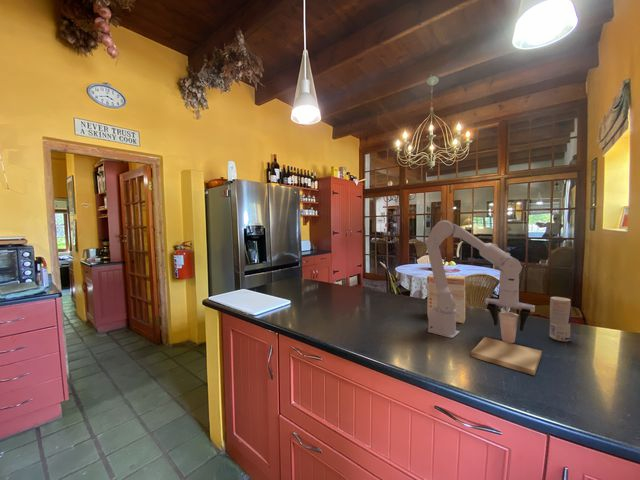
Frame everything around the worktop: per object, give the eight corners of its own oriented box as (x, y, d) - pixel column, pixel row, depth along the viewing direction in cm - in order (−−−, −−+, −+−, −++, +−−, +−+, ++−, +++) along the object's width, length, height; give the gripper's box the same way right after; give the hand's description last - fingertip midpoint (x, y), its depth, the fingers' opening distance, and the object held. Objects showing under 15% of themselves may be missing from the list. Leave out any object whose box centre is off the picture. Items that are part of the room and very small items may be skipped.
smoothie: (493, 337, 99) (493, 300, 99) (509, 336, 100) (510, 299, 99) (506, 344, 93) (507, 305, 92) (523, 343, 94) (524, 304, 93)
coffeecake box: (465, 318, 120) (465, 275, 119) (464, 323, 114) (464, 278, 113) (430, 313, 128) (429, 273, 127) (427, 318, 122) (427, 275, 121)
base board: (470, 356, 85) (470, 351, 85) (484, 340, 97) (484, 336, 97) (534, 375, 74) (534, 370, 74) (541, 355, 85) (541, 350, 85)
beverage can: (574, 342, 94) (575, 300, 93) (555, 341, 95) (556, 300, 94) (563, 336, 99) (564, 296, 99) (545, 335, 100) (546, 296, 100)
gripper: (536, 291, 93) (535, 329, 94) (488, 285, 104) (488, 319, 104) (533, 295, 88) (532, 335, 89) (483, 288, 99) (483, 324, 99)
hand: (508, 327), depth 96 cm, fingers open, 7 cm apart
